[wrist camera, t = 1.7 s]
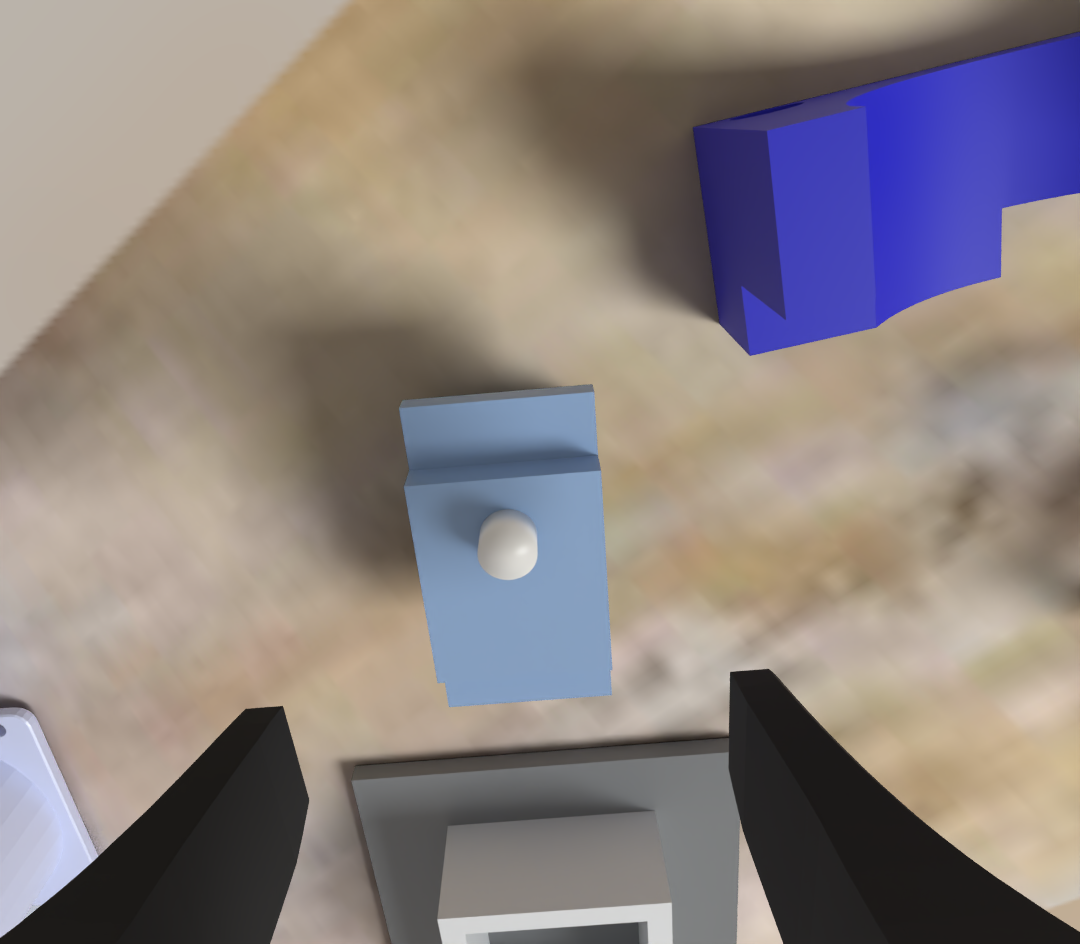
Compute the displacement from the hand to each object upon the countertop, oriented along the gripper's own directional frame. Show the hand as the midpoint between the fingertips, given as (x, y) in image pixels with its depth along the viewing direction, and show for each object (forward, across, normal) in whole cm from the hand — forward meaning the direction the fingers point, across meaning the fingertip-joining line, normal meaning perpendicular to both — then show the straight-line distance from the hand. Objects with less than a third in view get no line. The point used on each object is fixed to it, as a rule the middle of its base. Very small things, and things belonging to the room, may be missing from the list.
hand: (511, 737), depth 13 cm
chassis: (+9, 0, +15) cm, 17 cm away
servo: (+9, 0, 0) cm, 9 cm away
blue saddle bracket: (+10, -11, -7) cm, 16 cm away
